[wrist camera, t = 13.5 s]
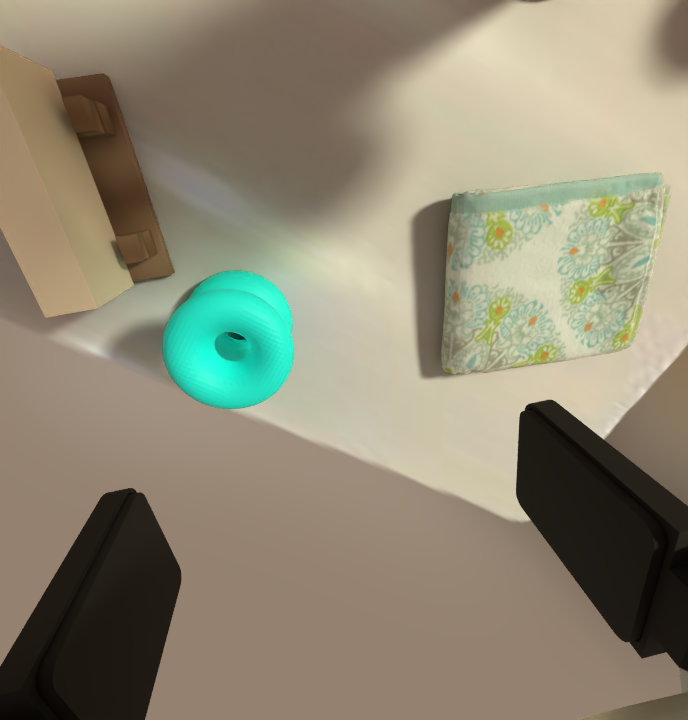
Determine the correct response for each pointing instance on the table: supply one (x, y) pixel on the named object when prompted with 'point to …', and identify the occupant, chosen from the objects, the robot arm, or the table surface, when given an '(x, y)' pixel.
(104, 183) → the rack
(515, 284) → the towel
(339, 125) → the table surface
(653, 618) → the robot arm
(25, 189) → the cream rectangular block
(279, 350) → the donuts
